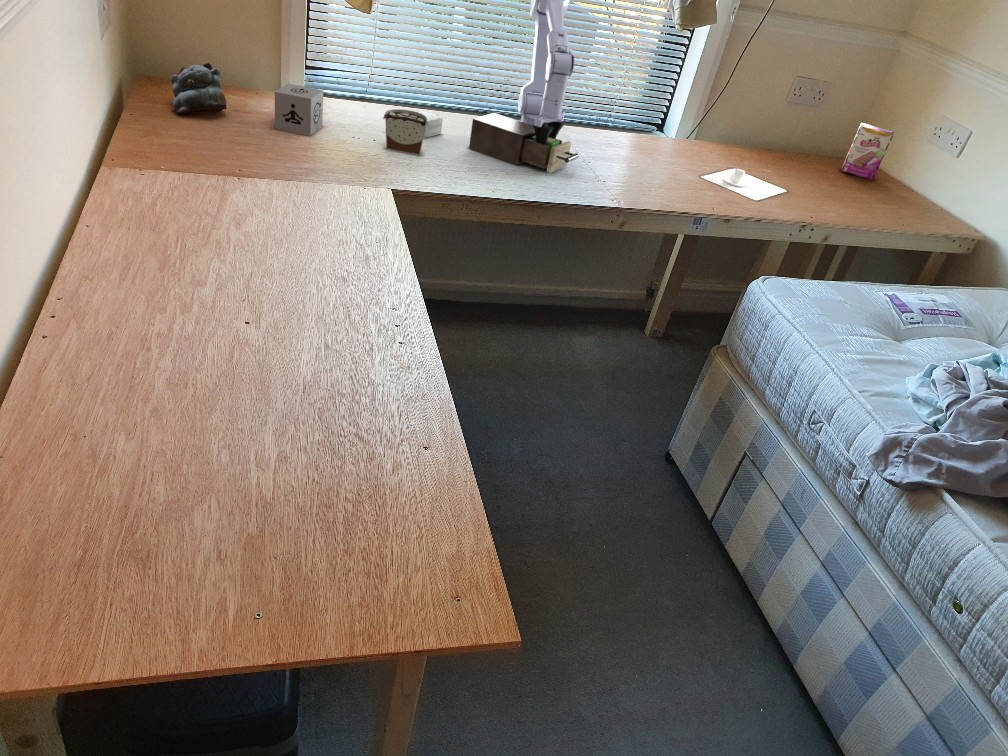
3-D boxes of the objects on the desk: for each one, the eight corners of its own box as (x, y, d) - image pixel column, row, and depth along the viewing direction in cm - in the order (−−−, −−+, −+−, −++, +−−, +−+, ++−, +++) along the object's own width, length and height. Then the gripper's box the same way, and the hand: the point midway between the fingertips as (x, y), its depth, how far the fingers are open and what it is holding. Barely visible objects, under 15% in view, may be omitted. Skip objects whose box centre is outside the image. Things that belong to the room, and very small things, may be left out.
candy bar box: (840, 172, 266) (860, 125, 257) (841, 168, 270) (860, 122, 261) (873, 181, 263) (894, 133, 254) (873, 177, 267) (894, 130, 258)
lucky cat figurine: (164, 114, 204) (155, 59, 202) (186, 121, 216) (178, 70, 214) (217, 107, 203) (209, 52, 201) (237, 114, 215) (228, 63, 212)
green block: (537, 147, 220) (539, 133, 218) (557, 154, 218) (559, 140, 215) (529, 150, 217) (532, 136, 214) (549, 157, 214) (552, 143, 212)
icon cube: (288, 119, 217) (288, 83, 212) (322, 126, 217) (323, 90, 212) (274, 128, 209) (274, 91, 204) (310, 136, 209) (311, 98, 203)
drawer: (578, 169, 219) (583, 146, 216) (562, 177, 212) (567, 153, 208) (520, 149, 226) (524, 126, 222) (503, 156, 218) (507, 132, 214)
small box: (421, 126, 232) (423, 109, 229) (441, 134, 229) (443, 117, 226) (404, 130, 226) (406, 113, 224) (424, 138, 223) (426, 120, 220)
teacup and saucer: (732, 176, 241) (736, 163, 239) (753, 185, 237) (758, 172, 234) (717, 180, 235) (721, 167, 233) (739, 189, 231) (744, 176, 229)
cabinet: (536, 157, 225) (542, 128, 220) (517, 165, 216) (522, 135, 212) (489, 141, 231) (493, 112, 226) (468, 148, 222) (472, 118, 217)
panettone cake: (428, 149, 215) (432, 114, 210) (425, 156, 210) (428, 120, 205) (385, 141, 215) (388, 105, 210) (381, 148, 210) (383, 111, 204)
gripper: (554, 106, 202) (544, 156, 209) (577, 99, 213) (567, 147, 220) (531, 99, 204) (522, 149, 212) (555, 92, 215) (546, 139, 223)
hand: (544, 147), depth 216 cm, fingers closed on green block, 4 cm apart
